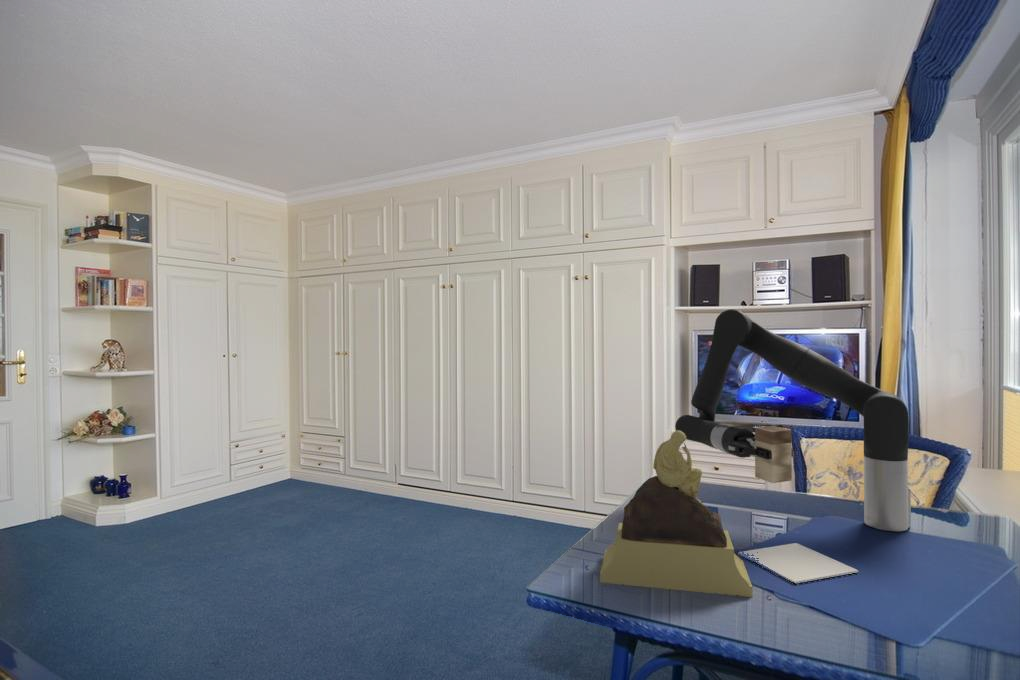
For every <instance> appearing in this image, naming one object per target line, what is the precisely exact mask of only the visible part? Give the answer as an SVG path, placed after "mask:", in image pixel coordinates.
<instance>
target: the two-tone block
mask: <svg viewBox="0 0 1020 680" xmlns="http://www.w3.org/2000/svg"><path fill="white" fill-rule="evenodd" d="M754 435H755V445H756V446H758V447H761V448H765V449H768V450H771V452H772V458H771V459H770V460H767V459H764V458H761V457H754V472H755V473H754V475H755V476H754V477H755V478H756V479H760V480H762V481H765V482H768V483H771V484H777V483H784V482H792V480H793V478H792V477H793V473H792V472H793V471H792V470H793V469H792V467H793V465H792V464H793V463H792V462H793V461H792V458H793V457H792V446H793V444H792V437H793V436H792V429H788V428H784V427H780V426H775V425H771V426H760V427H755V428H754Z"/></svg>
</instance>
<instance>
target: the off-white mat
mask: <svg viewBox="0 0 1020 680" xmlns="http://www.w3.org/2000/svg"><path fill="white" fill-rule="evenodd" d="M742 551H743V550H742ZM742 551H738V554H739V553H741V554H742ZM743 552H744V554H746V555H747V553H748V554H749V555H750V556H748V557H750V558H752V557H753V558H755V560H759V561H758V562H759V563H760V564H763V565H764V566H766V567H768V568H769V569H771V570H773V571H775V572H776V573H778V574H779V575H781V576H783V577H785V578H786V579H788V580H790V581H791V582H794V583H800V582H807V581H812V580H817V579H823V578H829V577H834V576H839V575H845V574H852V573H857V572H858V573H859V570H858V569H856V568H854V567H852V566H849V565H847V564H845V563H843V562H841V561H838V560H836V559H833V558H831V557H829V556H827V555H825V554H822V553H820V552H818V551H816V550H813V549H811V548H809V547H807V546H804V545H802V544H800V543H797V542H794V543H787V544H781V545H775V546H769V547H763V548H756V549H749V550H744V551H743ZM757 552H758V553H757ZM752 554H753V555H754V556H751V555H752ZM756 558H759V559H756ZM756 562H757V561H756ZM858 573H857V574H858ZM852 575H853V574H852ZM791 582H790V583H791Z"/></svg>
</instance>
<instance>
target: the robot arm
mask: <svg viewBox="0 0 1020 680" xmlns="http://www.w3.org/2000/svg"><path fill="white" fill-rule="evenodd" d="M710 343H711V344H710V346H709V351H708V355H707V357H706V360H705V364H704V366H703V369H702V371H701V374H700V376H699V379H698V381H697V384H696V386H695V389H694V392H693V395H692V397H691V401H690V402H691V403H690V404H691V406H692V407H694V408H695V409H697V410H699V411H698V412H699V415H698V416H699V417H698V416H696V415H691V414H684V415H681V416H679V418H677V420H676V422H675V424H674V425H675V426H674V429H675V431H677V430H680V431H682V432H683V433H684V434H685V435H686V440H688V441H692V442H696V443H700V444H703V445H705V446H708V447H710V448H713V449H716V450H719V451H721V452H722V453H726V454H729V455H732V456H735V457H738V458H751V457H754V458H755V457H761V458H764V459H767V460H770V459H771V458H772V452H771V450H768V449H765V448H761V447H758V446H756V445H755V433H754V432H753V431H752V430H751V429H749V428H745V427H741V426H737V425H735V424H734V425H733V424H730V423H728V424H727V423H722V422H717V421H715V420H716V410H717V409H716V408H717V406H718V404H719V401H720V398H721V396H722V393H723V390H724V387H725V384H726V380H727V375H728V372H729V371H728V370H729V367H730V363H731V362H732V359H733V356H734V354H735V352H736V350H737V348H738V346H739V347H741V348H744V349H745V350H748V351H750V352H752V353H754V354H755V355H757V356H759V357H760V358H762V359H763V360H764V361H765V362H766V363H768V364H769V365H770V366H772V367H773V368H775V369H776V370H777V371H779V372H780V373H781V374H783V375H785V376H786V377H788V378H789V379H791V380H793V381H794V382H796V383H798V384H800V385H802V386H803V387H806V388H808V389H810V390H812V391H814V392H816V393H819V394H822V395H823V396H826V397H829V398H832V399H834V400H837V401H838V402H841V403H842V404H844V405H846V406H847V407H849V408H850V409H852V410H853V411H855V412H856V413H858V414H859V415H861V416H862V417H863V512H864V513H863V519H864V521H863V523H864V524H865V525H866V526H868V527H871V528H874V529H877V530H880V531H888V532H904V531H908V529H909V528H911V527H912V515H911V513H912V510H911V509H912V503H911V502H912V501H911V500H912V499H911V496H912V495H911V492H912V491H911V488H909V465H908V464H909V463H908V462H909V460H908V459H909V458H908V457H909V455H908V454H909V434H910V433H909V432H910V431H909V428H910V425H909V422H910V421H909V420H910V419H909V417H910V416H909V411H908V407H907V405H906V404H905V402H904V401H903V400H902V399H901V398H900V397H899V396H897V395H895V394H893V393H892V392H888V391H885V390H883V389H881V388H878V387H875V386H874V385H871V384H870V383H867V382H865V381H863V380H861V379H859V378H858V377H856V376H853V375H852V374H851V373H849V372H848V371H846V370H845V369H843V368H842V367H841V366H839V365H837V364H836V363H834V362H833V361H831V360H830V359H828V358H827V357H825V356H823V355H821V354H820V353H818V352H816V351H814V350H813V349H811V348H808V347H807V346H804V345H803V344H800V343H798V342H797V341H793V340H790V339H789V338H786V337H783V336H781V335H778V334H776V333H774V332H772V331H770V330H769V329H767V328H766V327H764V326H762V325H760V324H759V323H758V322H756V321H755V320H754V319H752V318H751V317H750V316H748V315H747V314H746V313H744V312H743V311H740V310H738V309H734V308H733V309H731V308H730V309H726V310H724V311H722V312H721V313H720V314H719V315H718V316H717V317H716V319H715V322H714V329H713V333H712V337H711V342H710ZM793 456H794V449H793V448H792V458H793Z"/></svg>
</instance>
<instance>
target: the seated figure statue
mask: <svg viewBox="0 0 1020 680" xmlns="http://www.w3.org/2000/svg"><path fill="white" fill-rule="evenodd" d="M686 440H687V439H686V435H685V434H684V433H683V432H682V431H680V430H677V431H676V430H674V431H673V432H672V433H671V436H670V438H669V439H668V440H667V439H666V440H665V441H663V442H661V444H660V445H659V446H658V448H657V450H656V451H655V455H654V460H653V467H652V468H653V469H654V470H655V473H656V475H655V476H652V477H649V478H648V479H646V480H645V481H644V482H643V483H642V484H641V485H640V486H639V487H638V489H636V491H635V492H634V493H635V494H634V496H633V497H632V498H631V499H629V502H628V503H627V504H626V505H625V506H624V507H623V519H622V522H618V526H617V532H616V536H615V540H614V542H613V543H612V544H611V545H610V546H608V548H605V551H604V554H603V559H602V562H601V563H602V564H601V568H600V571H599V583H602V584H610V585H611V584H613V585H622V584H624V586H633V587H642V586H643V587H644V588H645V587H646V588H654V589H655V588H656V589H664V590H665V589H666V590H674V591H686V592H697V593H706V594H715V593H718V594H719V595H725V594H727V595H728V596H736V595H739V596H740V597H747V598H753V597H754V596H753V585H752V582H751V580H750V579H751V578H750V576H749V574H748V571H747V568H746V565H745V562H744V560H743V559H741V558H740V557H739V555H738V554H736V553H735V548H734V546H733V543H732V539H731V536H730V535H729V531H728V530H727V529H724V527H723V523H722V518H721V516H720V514H719V513H716V512H715V511H714V510H712V509H711V508H709V507H708V506H706V505H705V504H703V501H702V500H700V499H698V498H697V495H698V493H699V492H700V485H701V478H702V475H703V471H702V469H700V468H695V467H693V461H692V458H691V456H692V455H691V453H690V450H689V449H688V447H687V445H686ZM683 444H684V446H682V445H683ZM681 446H682V447H681ZM680 449H682V450H683V452H684V453H685V454H686V456H687V457H686V459H685V458H684V456H683V455H684V454H683V453H682V451H680ZM739 596H738V597H739Z"/></svg>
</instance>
